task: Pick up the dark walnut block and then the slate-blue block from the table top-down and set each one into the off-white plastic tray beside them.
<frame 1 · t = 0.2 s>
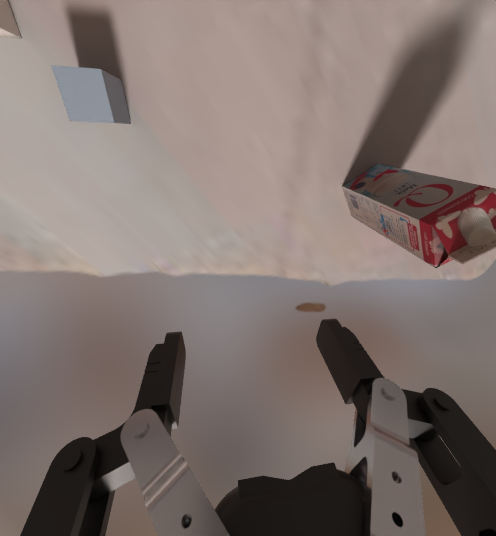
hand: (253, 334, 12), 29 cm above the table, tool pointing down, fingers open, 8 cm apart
printed cardboard box: (363, 191, 39), on the table
slate block: (107, 101, 27), on the table
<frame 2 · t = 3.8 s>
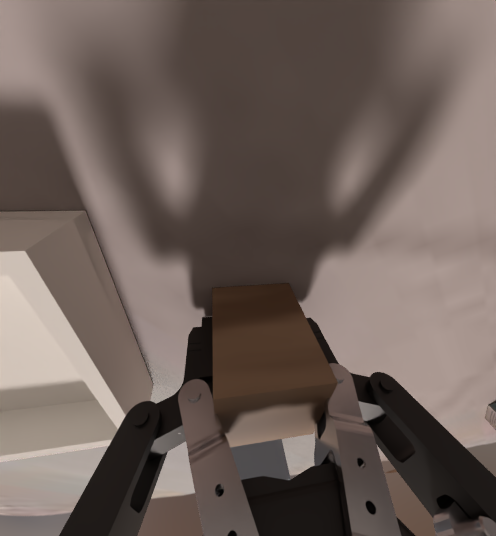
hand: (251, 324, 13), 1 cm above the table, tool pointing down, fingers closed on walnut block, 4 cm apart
walnut block: (249, 313, 14), on the table, touching gripper
slate block: (244, 404, 20), on the table
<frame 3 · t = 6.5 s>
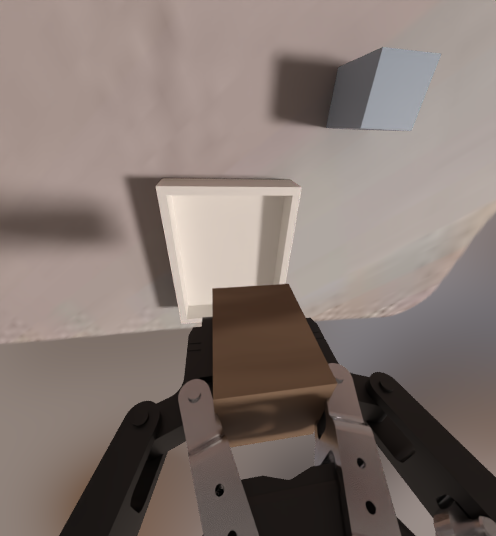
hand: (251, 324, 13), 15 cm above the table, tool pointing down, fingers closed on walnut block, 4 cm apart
walnut block: (249, 313, 14), point 15 cm above the table, touching gripper
tray: (229, 251, 28), on the table
slate block: (353, 101, 21), on the table
when the fingers open (4 cm above the table, at t = 9.0 s): walnut block drops 2 cm, resting on tray.
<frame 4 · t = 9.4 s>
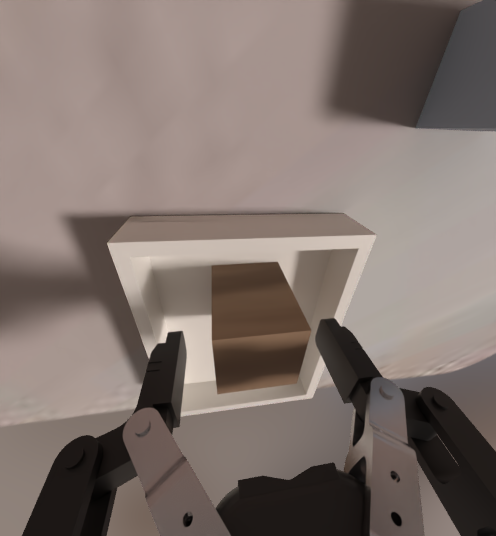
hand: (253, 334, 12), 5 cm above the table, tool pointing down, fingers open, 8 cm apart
walnut block: (244, 289, 16), point 1 cm above the table, touching tray
tray: (241, 314, 18), on the table
slate block: (471, 79, 11), on the table
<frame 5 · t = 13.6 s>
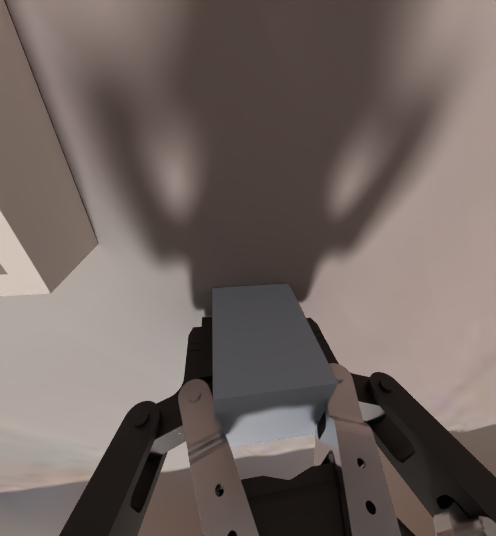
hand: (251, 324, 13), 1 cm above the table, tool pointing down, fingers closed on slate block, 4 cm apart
slate block: (249, 313, 14), on the table, touching gripper
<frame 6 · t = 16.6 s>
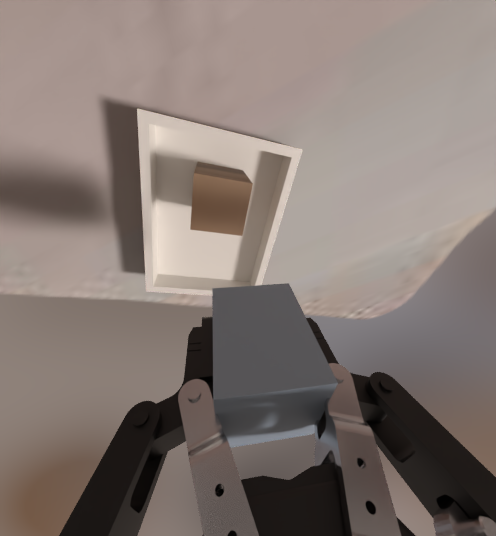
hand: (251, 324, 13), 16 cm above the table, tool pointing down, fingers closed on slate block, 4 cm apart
walnut block: (218, 189, 22), point 1 cm above the table, touching tray
tray: (213, 217, 25), on the table
slate block: (250, 313, 14), point 15 cm above the table, touching gripper
when the fingers open (4 cm above the table, at t = 19.6 s): slate block drops 2 cm, resting on tray.
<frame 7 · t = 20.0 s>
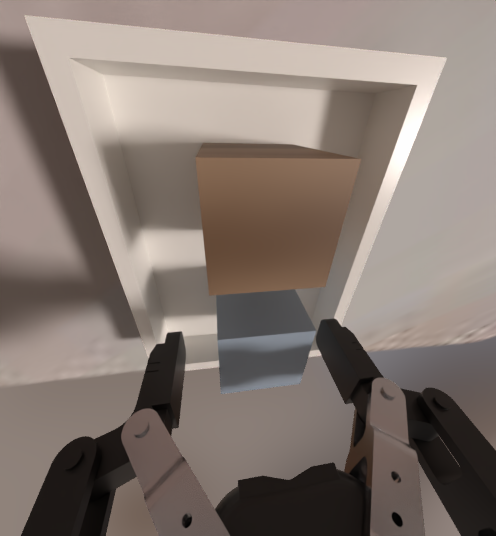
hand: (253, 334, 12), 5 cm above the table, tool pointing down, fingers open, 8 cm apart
walnut block: (248, 190, 12), point 1 cm above the table, touching tray
tray: (243, 240, 15), on the table
slate block: (247, 289, 16), point 1 cm above the table, touching tray
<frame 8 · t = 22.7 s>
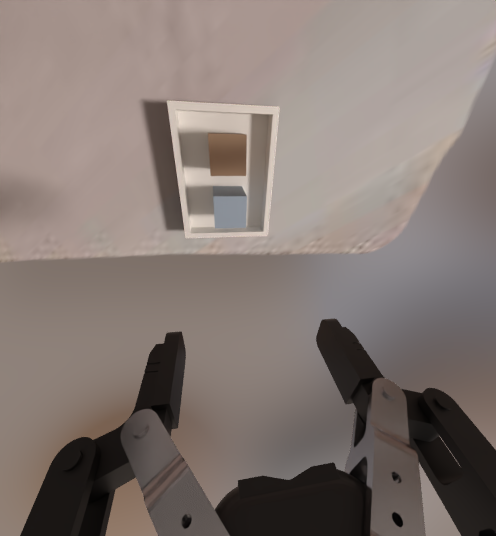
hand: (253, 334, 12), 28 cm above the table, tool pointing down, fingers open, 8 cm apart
walnut block: (225, 151, 31), point 1 cm above the table, touching tray
tray: (225, 176, 34), on the table
slate block: (227, 200, 35), point 1 cm above the table, touching tray
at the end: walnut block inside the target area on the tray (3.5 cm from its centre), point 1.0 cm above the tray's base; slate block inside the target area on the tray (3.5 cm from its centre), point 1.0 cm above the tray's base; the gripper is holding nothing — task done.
